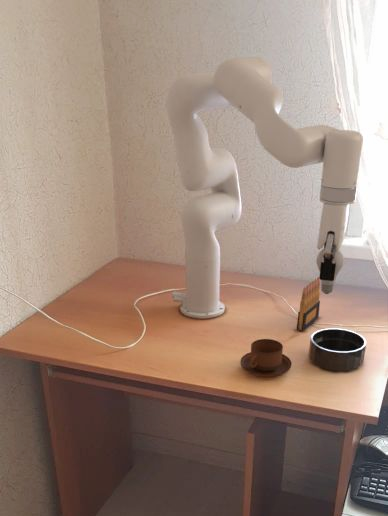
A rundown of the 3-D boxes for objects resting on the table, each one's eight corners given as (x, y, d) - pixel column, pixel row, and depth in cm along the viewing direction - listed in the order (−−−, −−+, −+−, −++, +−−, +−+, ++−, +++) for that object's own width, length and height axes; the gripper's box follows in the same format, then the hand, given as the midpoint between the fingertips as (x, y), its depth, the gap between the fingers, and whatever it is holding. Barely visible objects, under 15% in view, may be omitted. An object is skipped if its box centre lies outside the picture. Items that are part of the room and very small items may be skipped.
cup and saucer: (283, 385, 142) (285, 361, 139) (233, 375, 146) (233, 352, 143) (296, 362, 151) (298, 339, 148) (249, 353, 155) (250, 331, 152)
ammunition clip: (302, 331, 166) (306, 289, 160) (296, 330, 167) (300, 287, 161) (318, 317, 174) (323, 276, 168) (312, 316, 175) (316, 275, 168)
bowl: (304, 368, 149) (306, 347, 146) (313, 345, 159) (315, 325, 156) (360, 376, 145) (363, 355, 142) (365, 352, 156) (368, 332, 153)
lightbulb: (334, 300, 141) (339, 253, 136) (308, 295, 144) (313, 248, 138) (343, 292, 146) (349, 245, 140) (319, 287, 149) (324, 241, 143)
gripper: (326, 183, 141) (318, 261, 151) (313, 202, 127) (305, 286, 137) (360, 186, 139) (349, 264, 149) (351, 205, 125) (340, 290, 135)
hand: (328, 274), depth 143 cm, fingers closed on lightbulb, 6 cm apart
